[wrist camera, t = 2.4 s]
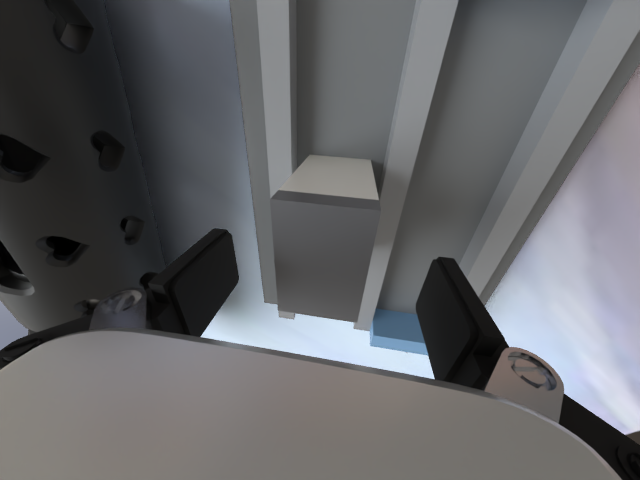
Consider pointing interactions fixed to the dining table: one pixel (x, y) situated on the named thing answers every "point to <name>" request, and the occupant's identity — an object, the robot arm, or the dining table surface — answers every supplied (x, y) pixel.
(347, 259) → the grey rectangular prism
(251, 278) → the dining table surface
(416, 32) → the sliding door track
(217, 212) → the dining table surface
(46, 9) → the muzzle brake
